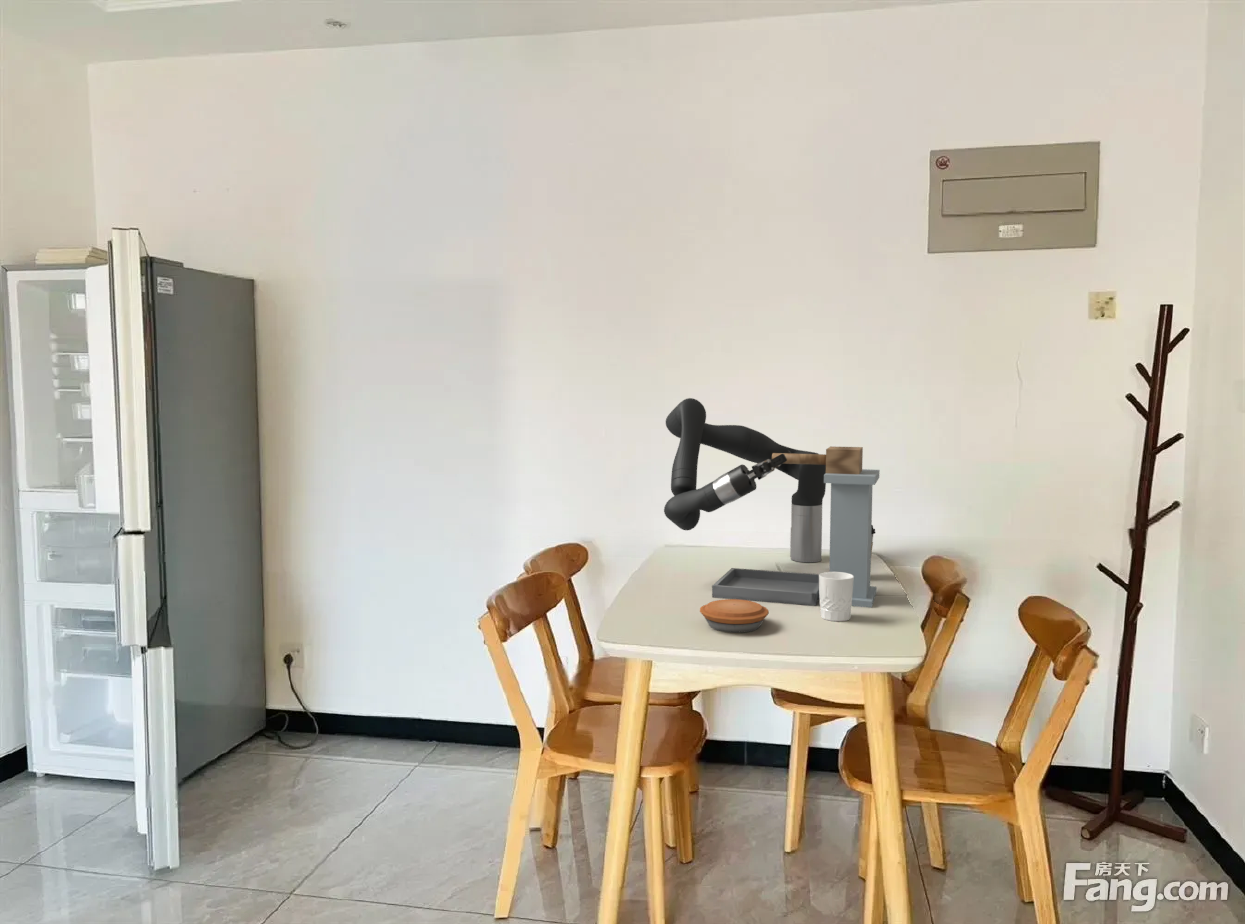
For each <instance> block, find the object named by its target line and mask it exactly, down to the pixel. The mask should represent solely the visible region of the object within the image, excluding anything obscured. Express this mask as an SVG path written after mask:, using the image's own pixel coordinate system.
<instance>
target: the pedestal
mask: <svg viewBox="0 0 1245 924" xmlns="http://www.w3.org/2000/svg"><path fill="white" fill-rule="evenodd" d="M879 479H880V469H869V468H868V469H866V468H865V469H864V468H862V472H861V473H860V474H830V473H826V474H824V483H826V484H830V512H829V513H830V514H829V515H830V516H829V517H830V518H829V521H830V522H829V524H830V526H829V528H830V529H829V568H828V569H829V571H828V572H843V573H848V574H851V575H853V576H854V581H853V596H852V606H851V607H861V608H862V607H863V608H873V606H874V602H875V599H876V596H877V593H878V592H877V591H878V590H877V589H878V586H873V585H871V570H872V569H871V568H872V567H871V565H872V564H871V563H872V554H871V529H872V525H873V524H872V523H873V522H872V521H873V520H872V519H873V518H872V517H873V486H874V485H876V483H877V482H878V481H879ZM875 595H876V596H875Z"/></svg>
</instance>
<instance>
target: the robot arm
mask: <svg viewBox="0 0 1245 924" xmlns="http://www.w3.org/2000/svg"><path fill="white" fill-rule="evenodd" d="M706 420H707V411H706V408H705V406H704V405H703V403H702V402H700V401H699V400H698V399H695V398H693V397H692V398H691V397H688V398H685V399H683V400H682V401H680V402H679V403H678V404H677V405H676V406H675V407H674V408H673V409H672V410H671V412H670V413H669V414H668V415H667V416H666V418H665V426H666V428H667V430H668V431H669V432H670V433H671V434H672V435H673V436H675V437H676V438H678V439H680V440H679V443H678V446H677V447H678V448H677V450H676V454H675V456H674V460H673V463H672V467H671V476H670V477H671V478H670V479H671V480H670V489H671V493H672V495H673V496H672V497H671V498H669V499H668V501H667V502H666V503H665V505H664V509H663V512H664V516H665V517H666V518H667V519H668V520H669V521H671V522H672V523H673V524H674V525H675V526H677V527H678V528H679V529H680V530H683V531H691V530H692V529H693V530H694V529H695V527H696V526H697V525H698V523H699V521H700V517H701V511H704V512H706V513H712V512H714V511H716V510H719V509H720V508H722V507H724V506H726V505H729V504H731V503H733V502H735V501H738V500H739V499H741V498H743V497H744V496H747V495H748V494H750V493H752V492H754V491H756V490H757V483H756V480H755V479H758V480H759V481H760V480H761V479H763V478H765V477H767V475H769V474H771V473H772V472H774V471H775V470H778V471H779V472H782V473H784V474H786V475H788V476H789V477H791V478H793V479H795V480H797V481H798V483H797V490H796V491H795V492H794V493H793V494H792V495H791V511H790V513H791V518H790V519H791V520H790V521H791V523H790V544H789V545H790V547H789V548H790V551H789V552H790V553H789V554H790V559H791V561H794V562H797V563H798V562H799V563H816V562H817V563H818V562H820V561H822V551H823V549H822V548H823V547H822V545H823V542H822V541H823V499H824V497H825V495H826V487H827V483H824V474H826V465H817V464H783V463H784V462H786V461H787V458H786V456H785V455H784V454H781V455H779V456H777V457H775V458H773V459H772V454H773V453H788V454H819V453H818V452H814V451H807V450H801V449H796V448H791V447H789V446H785V445H783V444H780V443H778V442H776V441H775V440H774V439H772V438H770V436H767V435H766V434H764V433H762V432H760V431H758V430H756V429H752V428H750V427H748V426H744V425H738V424H724V425H723V424H720V425H719V424H718V425H717V424H710V423H707V422H706ZM701 445H704V446H706V447H707V446H708V447H710V448H713V449H716V450H718V451H721V452H725V453H727V454H729V455H733V456H735V457H738V458H740V459H742V460H746V461H748V462H751V463H754V465H752V466H751V470H749V468H748V467H747V466H746V465H745V464H740V465H738V466H736V467H734V468H732V469H731V470H729V471H727V472H725V473H723V474H722V475H720V476H718V477H717V478H716V479H714V480H713V481H711V482H709V483H708V484H705V485H703V486H702V487H700V488H697V483H698V482H697V481H698V480H697V479H698V464H699V455H700V447H701Z"/></svg>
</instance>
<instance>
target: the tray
mask: <svg viewBox="0 0 1245 924" xmlns="http://www.w3.org/2000/svg"><path fill="white" fill-rule="evenodd" d="M819 574H820V573H811V572H810V573H809V572H808V573H806V572H795V571H780V570H779V571H778V570H766V569H764V570H763V569H752V568H739V567H731V568H730V569H729V570H728V571H727V572H725V573H724V574H723V575H722V576H721V577H720V578H719V579H718V580H717V581H715V583H714V584H712V585H711V597H712V598H715V599H716V598H718V599H738V600H747V601H752V602H762V603H763V602H765V603H774V604H786V605H787V604H788V605H799V606H800V605H801V606H813V607H816V606H817V604H818V603H819V602H820V597H819Z"/></svg>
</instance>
